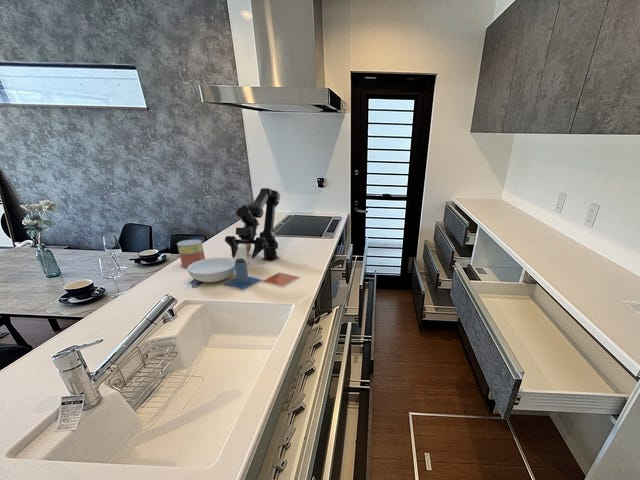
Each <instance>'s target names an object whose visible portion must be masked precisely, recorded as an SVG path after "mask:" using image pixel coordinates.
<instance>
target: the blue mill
mask: <svg viewBox="0 0 640 480" xmlns="http://www.w3.org/2000/svg"><path fill="white" fill-rule="evenodd" d="M234 265H235V276H236V278H237V283H238V284H246V283H248V282H249V278H248V277H249V273H248V272H249V271H248V266H247V265H248V263H247V264H246V261H245V260H244V259H236V261H235V262H234Z"/></svg>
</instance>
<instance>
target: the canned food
mask: <svg viewBox="0 0 640 480" xmlns="http://www.w3.org/2000/svg"><path fill="white" fill-rule="evenodd" d="M176 246H177V250H178V253H179V259H180V262H181V267H182V268H185V269H187V268H188V266H189V265H190V264H192V263H194V262H196V261H200V260H203V259H206V256H205V252H204V247H203V240H201V239H196V238H195V239H193V238H192V239H184V240H181V241H180V240H179V241H178V242H177V243H176Z"/></svg>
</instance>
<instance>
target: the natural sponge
mask: <svg viewBox="0 0 640 480" xmlns="http://www.w3.org/2000/svg"><path fill="white" fill-rule="evenodd" d="M239 244H242V243H239ZM245 245H246V247H247V255H248V254H250V252H251V249H252V244H245Z"/></svg>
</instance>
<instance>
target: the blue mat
mask: <svg viewBox="0 0 640 480" xmlns="http://www.w3.org/2000/svg"><path fill="white" fill-rule="evenodd" d="M248 278H249V282H248V283H246V284H238V283H237V277H236V278H234V279H231V280H230V281H228V282H225V283H223V284H222V285H223V286H228V287H231V288H235V289H239V290H246V289H247V288H249V287H251V286H253V285H255V284H258V283H260V282H261V281H262V279H260V278H257V277H256V278H255V277H252V276H248Z"/></svg>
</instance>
